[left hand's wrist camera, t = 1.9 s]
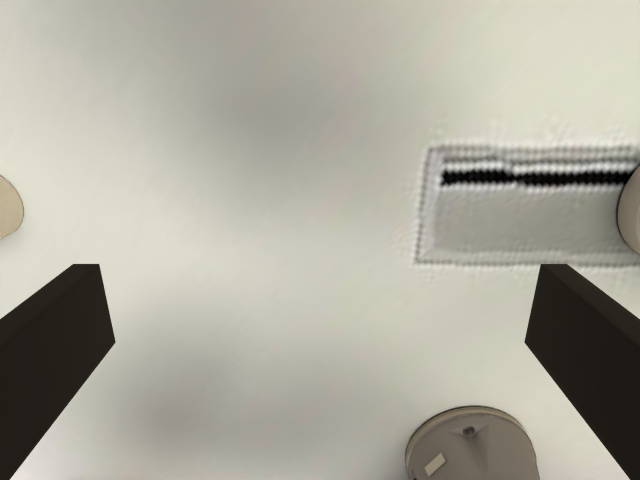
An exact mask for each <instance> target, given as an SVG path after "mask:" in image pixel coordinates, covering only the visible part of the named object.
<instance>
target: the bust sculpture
mask: <svg viewBox="0 0 640 480" xmlns="http://www.w3.org/2000/svg"><path fill="white" fill-rule="evenodd" d="M618 224H619V229H620V232H621V235H622V237H623V239H624V240H625V242H626V243H627V244H628V246H629V247H630V248H631V249H632V250H634V251H635V252H636V253H638V254H640V166H639V167H638V168H637V169H636V171H635V172H634V173H633V175H632V176H631V177H630V179H629V181H628V182H627V184H626V186H625V188H624V190H623V193H622V196H621V199H620V202H619V208H618Z"/></svg>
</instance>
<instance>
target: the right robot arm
mask: <svg viewBox="0 0 640 480" xmlns="http://www.w3.org/2000/svg"><path fill="white" fill-rule="evenodd" d="M406 467H407V471H408V475H409V479H410V480H540V477H539V472H538V468H537V463H536V454H535V451H534V448H533V445H532V443H531V441H530V439H529V437H528V435H527V434H526V432H525V430H524V428H523V427H522V426H521V425H520V424H519V423H518V422H517V421H516V420H515V419H514V418H513V417H511V416H509V415H508V414H506V413H504V412H501V411H498V410H495V409H491V408H485V407H465V408H459V409H454V410H451V411H448V412H445V413H442V414H440V415H438V416H436V417H434V418H432V419H431V420H429V421H428V422H426V423H425V424H424V425H423V426H422V427H420V428H419V429H418V430H417V432H416V433H415V434H414V435H413V437H412V438H411V440H410V442H409V444H408V447H407V450H406Z"/></svg>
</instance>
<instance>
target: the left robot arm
mask: <svg viewBox="0 0 640 480" xmlns="http://www.w3.org/2000/svg"><path fill="white" fill-rule="evenodd" d="M114 344H115V338H114V333H113V328H112V323H111V319H110V314H109V309H108V304H107V299H106V295H105V290H104V285H103V280H102V276H101V271H100V266H99V264H73V265H71V266H70V267H69V268H67V269H66V270H65V271H63V272H62V273H61V274H59V275H58V276H57V277H56V278H54V279H53V280H52V281H50V282H49V283H48V284H46V285H45V286H44V287H42V288H41V289H40V290H38V291H37V292H36V293H34V294H33V295H32V296H30V297H29V298H28V299H27V300H25V301H24V302H23V303H21V304H20V305H19V306H17V307H16V308H15V309H13V310H12V311H11V312H9V313H8V314H7V315H5V316H4V317H3V318H1V319H0V480H10V479H11V477H12V476H13V475H14V473H15V472H16V471H17V469H18V468H19V467H20V466H21V464H22V463H23V462H24V460H25V459H26V458H27V456H28V455H29V454H30V453H31V451H32V450H33V449H34V447H35V446H36V445H37V443H38V442H39V441H40V440H41V438H42V437H43V436H44V434H45V433H46V432H47V431H48V429H49V428H50V427H51V425H52V424H53V423H54V421H55V420H56V419H57V418H58V416H59V415H60V414H61V412H62V411H63V410H64V408H65V407H66V406H67V405H68V403H69V402H70V401H71V399H72V398H73V397H74V395H75V394H76V393H77V392H78V390H79V389H80V388H81V386H82V385H83V384H84V383H85V381H86V380H87V379H88V377H89V376H90V375H91V373H92V372H93V371H94V370H95V368H96V367H97V366H98V364H99V363H100V362H101V360H102V359H103V358H104V357H105V355H106V354H107V353H108V351H109V350H110V349H111V347H112V346H113V345H114ZM525 344H526V345H527V346H528V347H529V349H530V350H531V351H532V353H533V354H534V355H535V357H536V358H537V359H538V360H539V362H540V363H541V364H542V366H543V367H544V368H545V370H546V371H547V372H548V373H549V375H550V376H551V377H552V379H553V380H554V381H555V383H556V384H557V385H558V386H559V388H560V389H561V390H562V392H563V393H564V394H565V395H566V397H567V398H568V399H569V401H570V402H571V403H572V405H573V406H574V407H575V408H576V410H577V411H578V412H579V414H580V415H581V416H582V418H583V419H584V420H585V421H586V423H587V424H588V425H589V427H590V428H591V429H592V431H593V432H594V433H595V434H596V436H597V437H598V438H599V440H600V441H601V442H602V443H603V445H604V446H605V447H606V449H607V450H608V451H609V453H610V454H611V455H612V456H613V458H614V459H615V460H616V462H617V463H618V464H619V466H620V467H621V468H622V469H623V471H624V472H625V473H626V475H627V476H628V477H629V479H630V480H640V319H639V318H637V317H636V316H635V315H633V314H632V313H631V312H629V311H628V310H627V309H625V308H624V307H623V306H621V305H620V304H619V303H617V302H616V301H615V300H613V299H612V298H611V297H610V296H608V295H607V294H606V293H604V292H603V291H602V290H600V289H599V288H598V287H596V286H595V285H594V284H592V283H591V282H590V281H588V280H587V279H586V278H584V277H583V276H582V275H581V274H579V273H578V272H577V271H575V270H574V269H573V268H571V267H570V266H569V265H567V264H541V266H540V271H539V276H538V280H537V285H536V290H535V295H534V299H533V304H532V309H531V314H530V319H529V323H528V328H527V333H526V338H525Z"/></svg>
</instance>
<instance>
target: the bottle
mask: <svg viewBox="0 0 640 480" xmlns="http://www.w3.org/2000/svg"><path fill="white" fill-rule="evenodd" d="M22 219H23V204H22V201H21V198H20V196H19V194H18V193H17V191H16V190H15V188H14V187H13V186H12V185H11V184H10V183H9V182H8V181H7V180H6V179H4V178H3V177H1V176H0V239H1V238H3V237H5V236H7V235H9V234H11V233H13V232H14V231H15V230H16V229H17V228H18V227H19V226H20V224H21V222H22Z"/></svg>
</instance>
